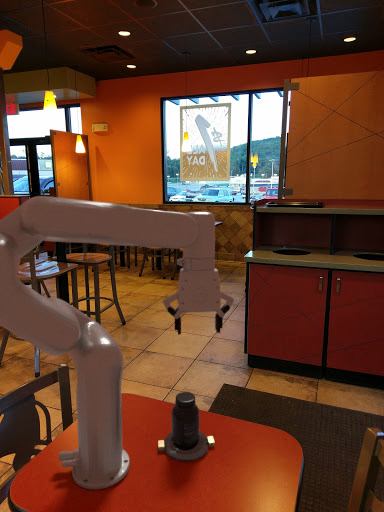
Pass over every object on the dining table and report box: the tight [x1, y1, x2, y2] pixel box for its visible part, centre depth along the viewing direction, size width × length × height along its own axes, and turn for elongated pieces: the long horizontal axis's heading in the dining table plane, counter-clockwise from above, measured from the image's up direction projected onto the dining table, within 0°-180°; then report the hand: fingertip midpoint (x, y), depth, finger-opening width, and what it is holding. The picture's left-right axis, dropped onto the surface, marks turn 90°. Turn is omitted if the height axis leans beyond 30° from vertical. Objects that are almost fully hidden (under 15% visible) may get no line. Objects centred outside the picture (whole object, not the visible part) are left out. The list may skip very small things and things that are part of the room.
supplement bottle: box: [171, 391, 200, 450], centre depth 88 cm, size 7×7×12 cm
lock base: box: [157, 430, 216, 463], centre depth 89 cm, size 14×11×1 cm
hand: (198, 331), depth 89 cm, fingers open, 9 cm apart
